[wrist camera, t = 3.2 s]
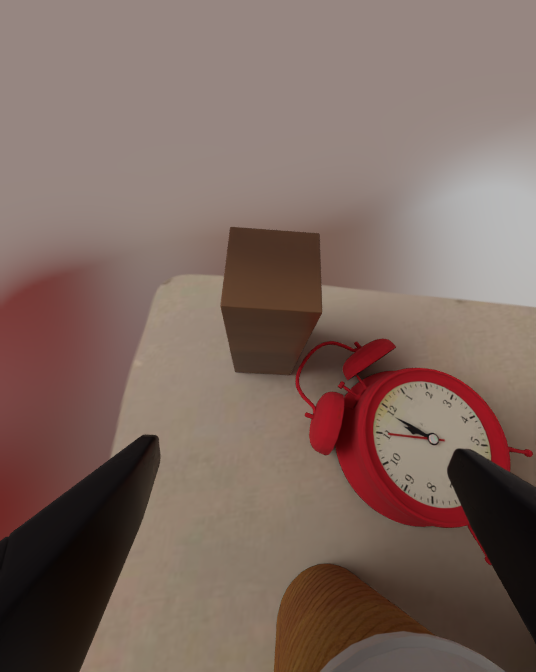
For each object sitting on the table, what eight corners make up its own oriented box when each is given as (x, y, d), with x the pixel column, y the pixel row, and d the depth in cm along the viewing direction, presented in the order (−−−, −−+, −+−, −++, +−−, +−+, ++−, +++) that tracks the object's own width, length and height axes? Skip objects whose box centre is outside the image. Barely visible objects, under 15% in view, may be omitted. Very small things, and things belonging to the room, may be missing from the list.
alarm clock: (501, 605, 14) (282, 418, 14) (413, 546, 20) (257, 414, 20) (555, 436, 18) (379, 283, 17) (466, 428, 24) (334, 314, 23)
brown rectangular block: (289, 375, 22) (322, 312, 12) (234, 372, 22) (220, 306, 12) (290, 325, 24) (319, 232, 14) (239, 322, 24) (230, 226, 13)
